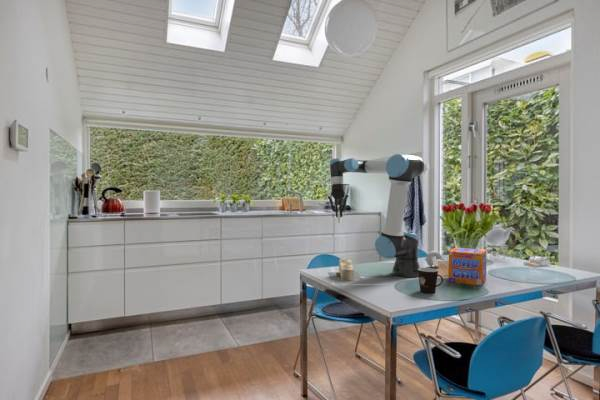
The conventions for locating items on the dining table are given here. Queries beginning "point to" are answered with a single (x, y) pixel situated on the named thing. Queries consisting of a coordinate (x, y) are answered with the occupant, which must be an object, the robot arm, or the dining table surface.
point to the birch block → (346, 269)
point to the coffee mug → (428, 280)
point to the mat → (337, 276)
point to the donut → (431, 255)
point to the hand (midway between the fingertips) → (339, 222)
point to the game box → (467, 266)
